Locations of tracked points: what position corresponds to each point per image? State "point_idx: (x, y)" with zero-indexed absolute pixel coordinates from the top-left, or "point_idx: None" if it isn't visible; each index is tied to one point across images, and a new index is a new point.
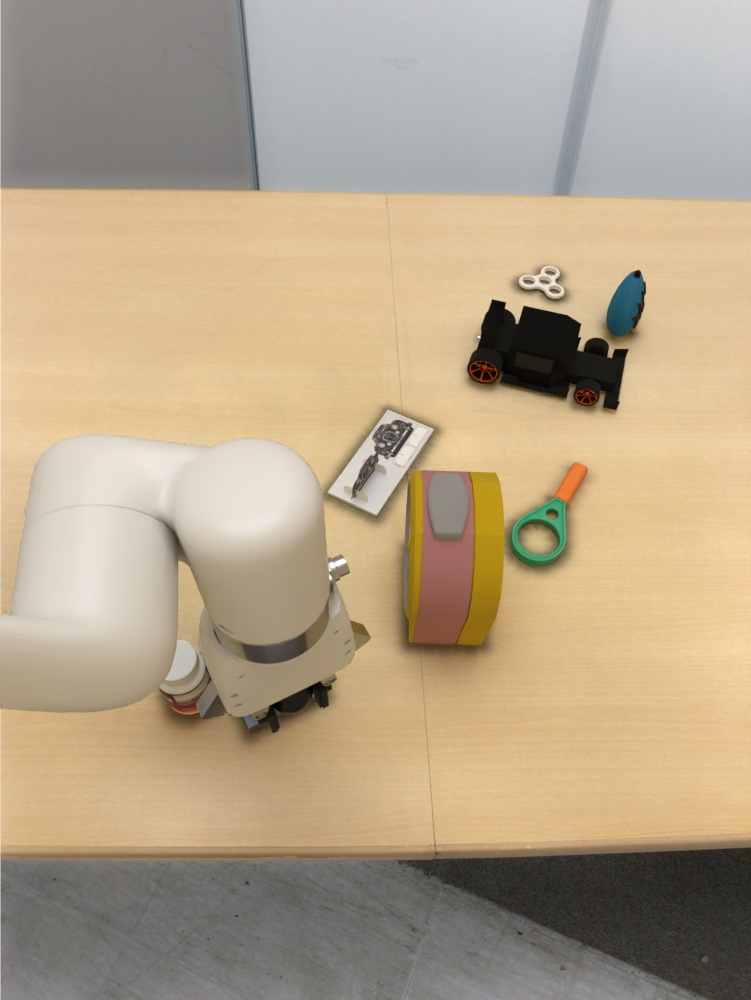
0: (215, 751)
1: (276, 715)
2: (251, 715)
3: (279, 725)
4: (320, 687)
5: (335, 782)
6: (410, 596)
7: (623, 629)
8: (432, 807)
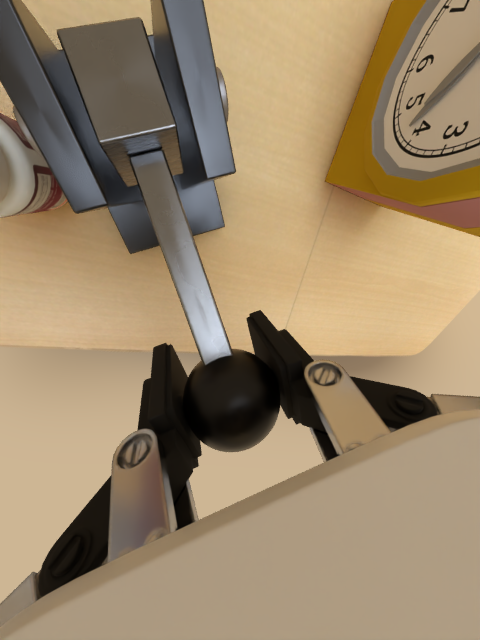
0: (89, 264)
1: (200, 449)
2: (133, 237)
3: None
4: (297, 417)
5: None
6: (463, 185)
7: None
8: None
